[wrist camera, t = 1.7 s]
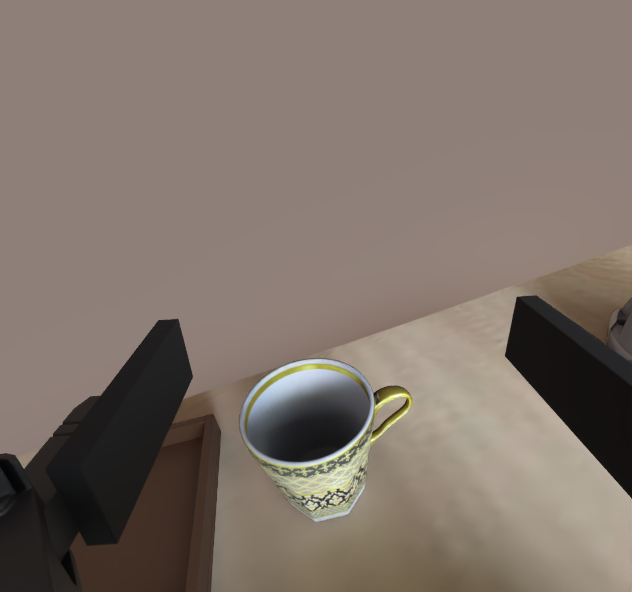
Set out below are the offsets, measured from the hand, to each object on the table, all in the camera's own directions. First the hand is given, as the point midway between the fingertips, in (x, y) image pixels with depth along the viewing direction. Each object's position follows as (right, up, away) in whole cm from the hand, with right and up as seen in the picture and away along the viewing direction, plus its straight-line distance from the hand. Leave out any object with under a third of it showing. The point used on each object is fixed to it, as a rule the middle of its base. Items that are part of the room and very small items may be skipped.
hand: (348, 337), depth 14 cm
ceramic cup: (+1, -14, +17) cm, 22 cm away
